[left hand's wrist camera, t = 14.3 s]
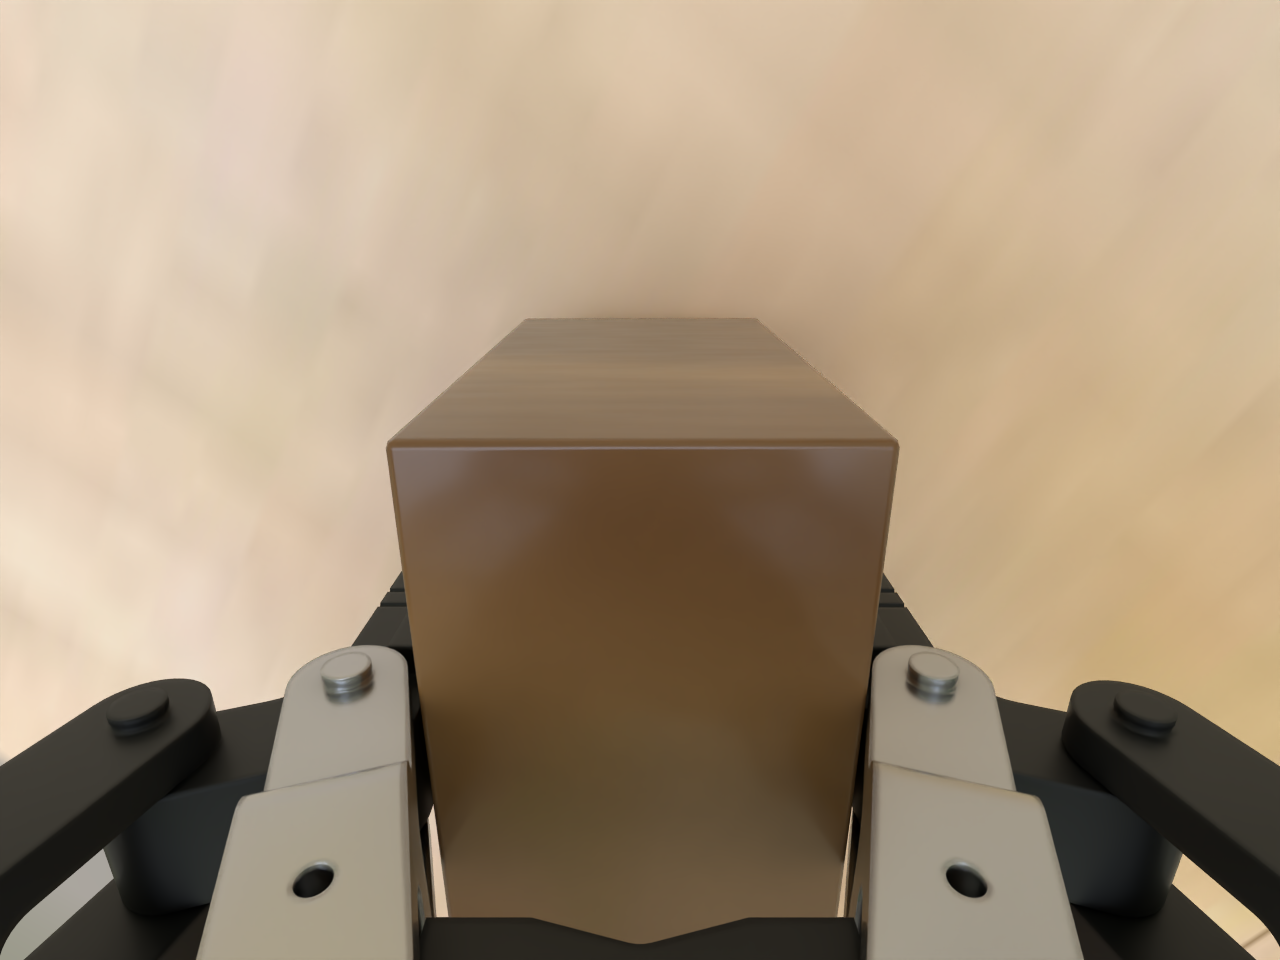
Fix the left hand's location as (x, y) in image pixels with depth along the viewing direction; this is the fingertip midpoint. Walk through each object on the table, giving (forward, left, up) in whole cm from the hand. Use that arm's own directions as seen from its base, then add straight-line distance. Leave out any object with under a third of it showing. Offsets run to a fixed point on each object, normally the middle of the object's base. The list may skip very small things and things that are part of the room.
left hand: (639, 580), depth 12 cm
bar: (+7, -3, -4) cm, 8 cm away
